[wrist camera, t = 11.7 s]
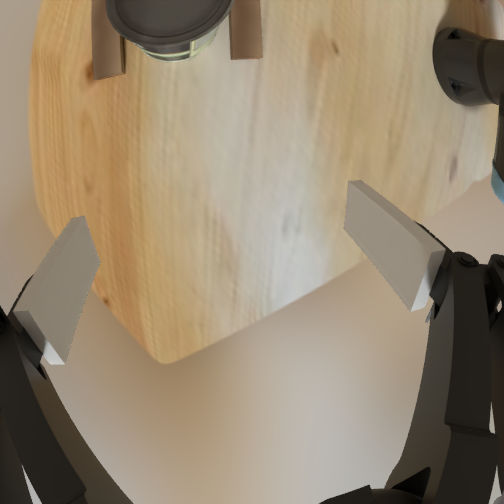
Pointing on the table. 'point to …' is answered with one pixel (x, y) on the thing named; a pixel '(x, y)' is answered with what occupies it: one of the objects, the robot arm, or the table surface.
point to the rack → (112, 51)
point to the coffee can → (168, 25)
